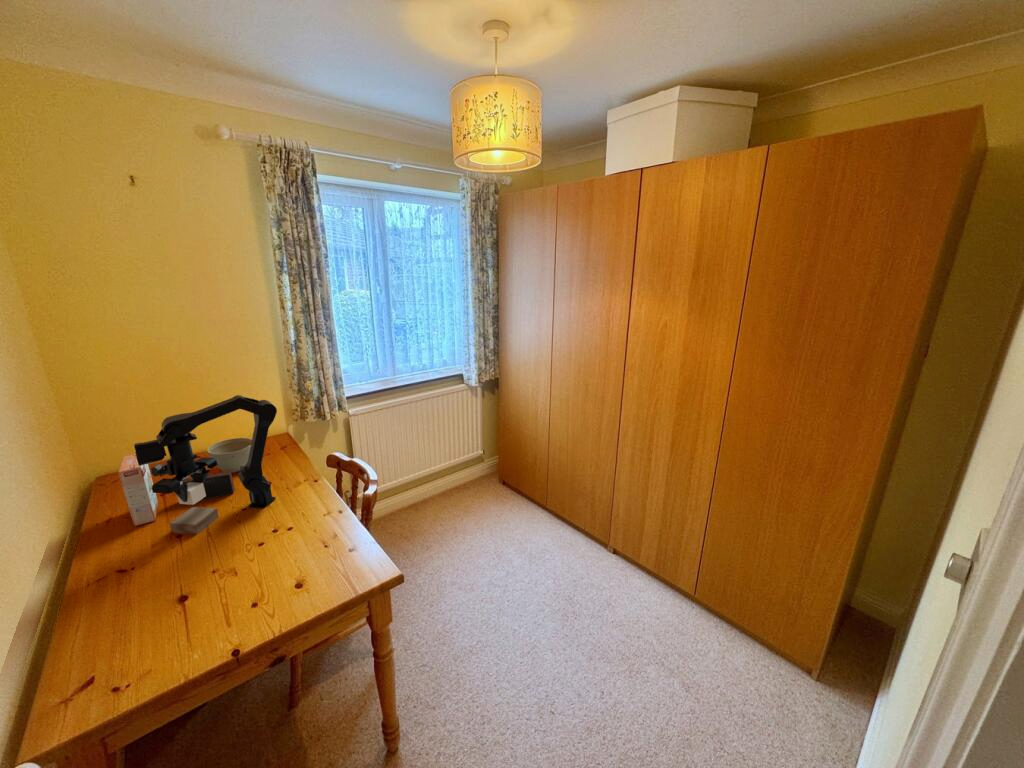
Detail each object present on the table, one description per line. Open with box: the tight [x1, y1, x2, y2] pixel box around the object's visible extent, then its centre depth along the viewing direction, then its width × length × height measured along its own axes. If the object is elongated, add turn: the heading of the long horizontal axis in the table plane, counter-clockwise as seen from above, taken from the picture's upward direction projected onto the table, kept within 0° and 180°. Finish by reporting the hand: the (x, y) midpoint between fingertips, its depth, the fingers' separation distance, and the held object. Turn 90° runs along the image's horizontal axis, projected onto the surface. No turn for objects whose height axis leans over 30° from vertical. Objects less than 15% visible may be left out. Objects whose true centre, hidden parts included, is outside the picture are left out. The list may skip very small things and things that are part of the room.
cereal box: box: [118, 453, 159, 527], centre depth 138 cm, size 14×6×21 cm, turn 37°
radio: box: [183, 456, 236, 501], centre depth 149 cm, size 19×3×15 cm, turn 114°
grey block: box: [169, 506, 220, 535], centre depth 135 cm, size 9×9×4 cm
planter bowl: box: [206, 437, 252, 474], centre depth 171 cm, size 16×16×11 cm
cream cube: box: [176, 482, 206, 506], centre depth 131 cm, size 5×5×5 cm
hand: (192, 497), depth 132 cm, fingers closed on cream cube, 5 cm apart
